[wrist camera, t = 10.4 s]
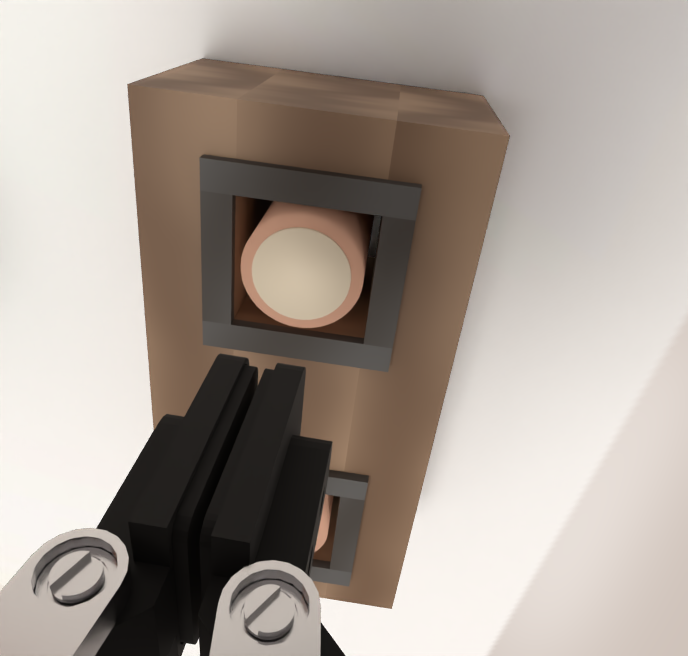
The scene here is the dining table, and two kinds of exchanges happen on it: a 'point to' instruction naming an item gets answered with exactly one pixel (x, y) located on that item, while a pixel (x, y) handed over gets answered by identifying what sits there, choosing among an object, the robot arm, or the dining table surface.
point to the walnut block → (379, 280)
